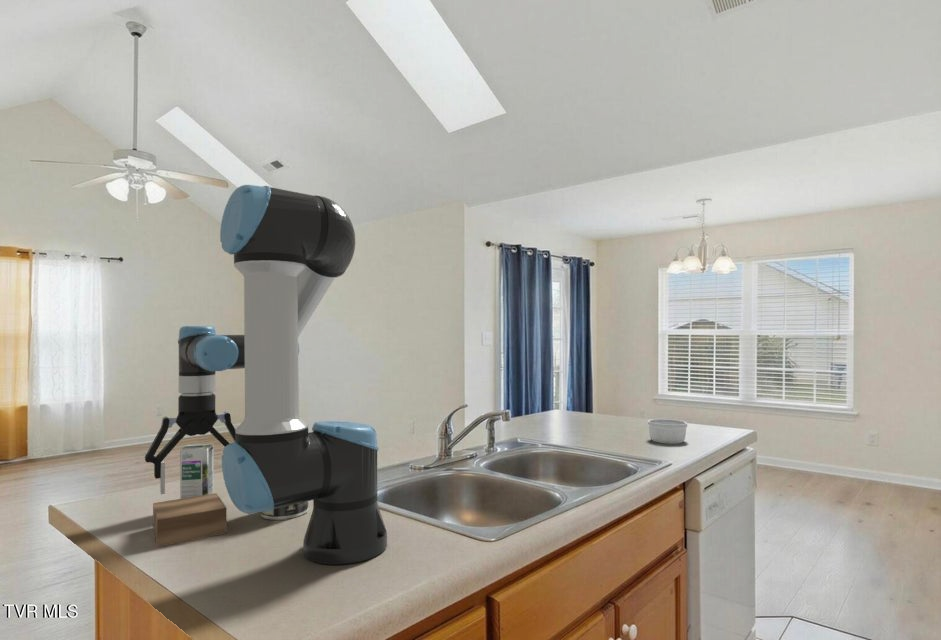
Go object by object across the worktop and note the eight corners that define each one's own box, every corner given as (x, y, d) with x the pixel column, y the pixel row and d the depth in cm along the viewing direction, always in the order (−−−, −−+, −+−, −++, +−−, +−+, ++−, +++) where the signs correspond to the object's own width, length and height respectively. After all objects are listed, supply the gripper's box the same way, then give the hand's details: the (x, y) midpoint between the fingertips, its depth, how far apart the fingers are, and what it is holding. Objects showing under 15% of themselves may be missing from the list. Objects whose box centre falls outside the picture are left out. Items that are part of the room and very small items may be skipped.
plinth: (226, 532, 108) (226, 507, 109) (157, 546, 102) (157, 519, 102) (216, 516, 118) (216, 493, 119) (153, 527, 112) (153, 503, 112)
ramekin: (685, 438, 199) (685, 419, 199) (689, 445, 186) (689, 425, 186) (647, 436, 202) (647, 418, 202) (648, 443, 190) (648, 424, 190)
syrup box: (179, 515, 119) (179, 449, 119) (187, 506, 125) (187, 443, 125) (207, 513, 120) (207, 447, 121) (213, 505, 126) (213, 442, 126)
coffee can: (317, 506, 125) (316, 444, 125) (293, 521, 115) (293, 454, 115) (276, 503, 127) (276, 443, 127) (250, 518, 117) (250, 453, 117)
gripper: (251, 388, 133) (251, 475, 133) (131, 395, 119) (131, 492, 119) (258, 391, 127) (258, 482, 127) (133, 399, 113) (132, 501, 113)
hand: (196, 487), depth 123 cm, fingers open, 13 cm apart
